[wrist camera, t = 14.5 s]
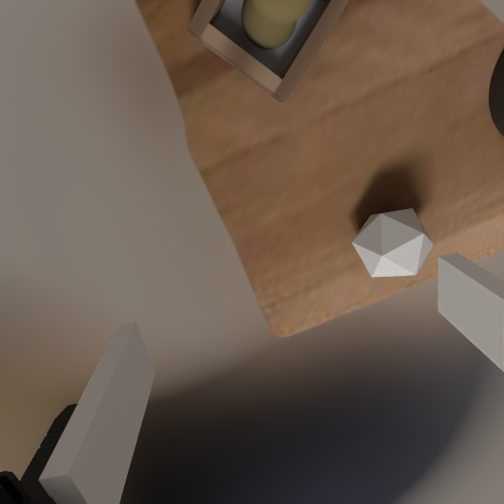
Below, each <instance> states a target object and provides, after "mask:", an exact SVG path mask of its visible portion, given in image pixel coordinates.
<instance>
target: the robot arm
mask: <svg viewBox="0 0 504 504" xmlns="http://www.w3.org/2000/svg"><path fill="white" fill-rule="evenodd" d="M489 103H490V111H491V115H492V119H493V121H494V124H495V125H496V127H497V129H498V130H499V132H500V133H501V134H502V135H503V136H504V52H503V54H502V55H501V57H500V59H499V61H498V64H497V66H496V68H495V71H494V74H493V77H492V81H491V86H490V96H489ZM438 311H439V312H440V313H441V314H442V315H443V316H444V317H445V318H446V319H447V320H448V321H449V322H451V323H452V324H453V325H454V326H455V327H456V328H457V329H458V330H459V331H460V332H461V333H462V334H463V335H465V336H466V337H467V338H468V339H469V340H470V341H471V342H472V343H473V344H474V345H475V346H476V347H477V348H479V349H480V350H481V351H482V352H483V353H484V354H485V355H486V356H487V357H488V358H489V359H490V360H492V361H493V362H494V363H495V364H496V365H497V366H498V367H499V368H500V369H501V370H502V371H503V372H504V281H503V280H502V279H500V278H498V277H497V276H495V275H493V274H492V273H490V272H488V271H486V270H485V269H483V268H482V267H480V266H478V265H477V264H475V263H473V262H472V261H470V260H468V259H467V258H465V257H463V256H462V255H460V254H458V253H457V252H456V253H451V254H446V255H442V256H438ZM155 372H156V370H155V368H154V365H153V363H152V360H151V358H150V355H149V353H148V350H147V348H146V345H145V343H144V340H143V338H142V335H141V333H140V330H139V328H138V326H137V323H136V322H131V323H126V324H122V325H118V327H117V329H116V331H115V333H114V335H113V337H112V339H111V341H110V343H109V345H108V347H107V348H106V350H105V353H104V354H103V356H102V358H101V360H100V362H99V364H98V366H97V368H96V370H95V372H94V374H93V375H92V377H91V379H90V381H89V383H88V385H87V387H86V389H85V391H84V393H83V395H82V397H81V399H80V401H79V403H77V404H73V405H68V406H67V407H66V408H65V409H64V410H63V411H62V412H61V413H60V415H58V417H57V418H56V419H55V420H54V422H53V424H52V425H51V427H50V429H49V431H48V432H47V436H46V437H45V438H44V440H43V441H42V443H41V445H40V448H39V449H38V450H37V452H36V454H35V455H34V457H33V459H32V461H31V462H30V464H29V466H28V468H27V469H26V471H25V473H24V475H23V477H22V478H21V480H20V481H19V480H18V478H17V477H16V476H15V475H14V474H13V472H8V471H3V472H0V504H119V502H120V498H121V495H122V491H123V488H124V484H125V480H126V476H127V473H128V469H129V466H130V462H131V459H132V455H133V452H134V448H135V444H136V441H137V437H138V433H139V430H140V426H141V423H142V419H143V415H144V412H145V408H146V405H147V401H148V397H149V394H150V390H151V387H152V383H153V380H154V376H155Z"/></svg>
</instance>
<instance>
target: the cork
mask: <svg viewBox="0 0 504 504" xmlns="http://www.w3.org/2000/svg"><path fill="white" fill-rule="evenodd" d="M310 3H311V0H244V2H243V6H242V11H241V22H242V26H243V29H244V32H245V34H246V36H247V37H248V39H249V40H250V41H251V42H252V43H253V44H254V45H256V46H257V47H259V48H262V49H266V50H268V49H276V48H278V47H281V46H283V45H284V44H285V43H286V42H287V41H288V40H289V39H290V38H291V36H292V34H293V32H294V30H295V27H296V23H297V19H299V18H300V17H301V16H302V15H303V14H304V13H305V11H306V10H307V8H308V6H309V5H310Z"/></svg>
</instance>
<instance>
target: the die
mask: <svg viewBox="0 0 504 504" xmlns="http://www.w3.org/2000/svg"><path fill="white" fill-rule="evenodd" d="M352 243H353V245H354V247H355V249H356V250H357V252H358V254H359V256H360V257H361V259H362V261H363V262H364V264H365V266H366V268H367V269H368V271H369V273H370V275H371V276H372V277H387V276H406V275H416V274H417V273H418V271H419V269H420V267H421V265H422V264H423V262H424V260H425V258H426V257H427V255H428V253H429V251H430V250H431V248H432V246H433V243H432V241H431V239H430V238H429V236H428V234H427V233H426V231H425V229H424V227H423V226H422V224H421V222H420V220H419V219H418V217H417V215H416V213H415V212H414V210H413V208H411V209H405V210H399V211H393V212H387V213H380V214H374V215H370V217H369V218H368V220H367V221H366V222H365V224H364V225H363V227H362V228H361V230H360V231H359V232H358V234H357V235H356V237H355V238H354V239H353V241H352Z"/></svg>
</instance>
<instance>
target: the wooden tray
mask: <svg viewBox="0 0 504 504" xmlns="http://www.w3.org/2000/svg"><path fill="white" fill-rule="evenodd" d="M243 2H244V0H202V1H201V3H200V4H199V6H198V8H197V10H196V12H195V14H194V16H193V18H192V20H191V22H190V24H189V26H188V30H189V32H190V34H191V36H192V37H194V38H195V39H196V40H198V41H199V42H200V43H202V44H203V45H205V46H206V47H207V48H209V49H210V50H211V51H213V52H214V53H215V54H217V55H218V56H219V57H221V58H222V59H223V60H225V61H226V62H227V63H229V64H230V65H231V66H233V67H234V68H235V69H237V70H238V71H239V72H241V73H242V74H244V75H245V76H246V77H248V78H249V79H250V80H252V81H253V82H254V83H256V84H257V85H258V86H260V87H261V88H262V89H264V90H265V91H266V92H268V93H269V94H270V95H272V96H273V97H274V98H276V99H277V100H278V101H280V102H284V101H286V100H287V98H288V97H289V95H290V94H291V92H292V90H293V89H294V87H295V86H296V84H297V83H298V81H299V79H300V78H301V76H302V75H303V73H304V71H305V70H306V68H307V67H308V65H309V64H310V62H311V60H312V59H313V57H314V56H315V54H316V52H317V51H318V49H319V48H320V46H321V45H322V43H323V41H324V40H325V38H326V37H327V35H328V33H329V32H330V30H331V29H332V27H333V26H334V24H335V22H336V21H337V19H338V18H339V16H340V14H341V13H342V11H343V10H344V8H345V7H346V5H347V3H348V2H349V0H311V3H310V5H309V6H308V8H307V10H306V11H305V13H304V14H303V15H302V16H301V17H300V18H299V19H297V23H296V27H295V30H294V32H293V34H292V36H291V38H290V39H289V40H288V41H287V42H286V43H285V44H284V45H283V46H281V47H278V48H276V49H268V50H266V49H262V48H259V47H257V46H256V45H254V44H253V43H252V42H251V41H250V40H249V39H248V37H247V36H246V34H245V32H244V29H243V26H242V22H241V11H242V6H243Z"/></svg>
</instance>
